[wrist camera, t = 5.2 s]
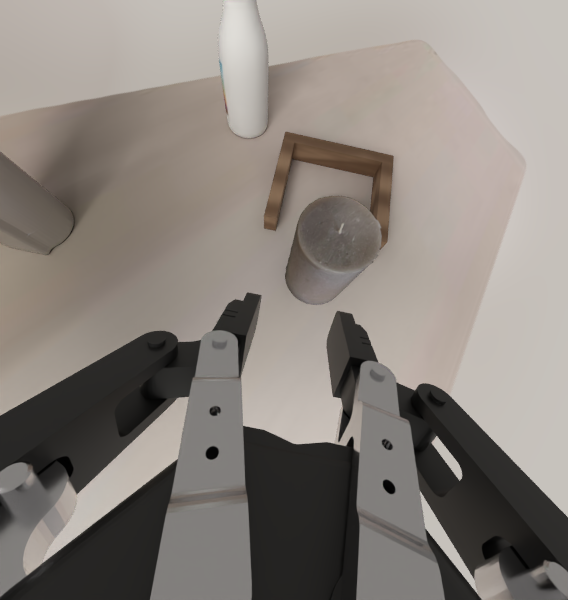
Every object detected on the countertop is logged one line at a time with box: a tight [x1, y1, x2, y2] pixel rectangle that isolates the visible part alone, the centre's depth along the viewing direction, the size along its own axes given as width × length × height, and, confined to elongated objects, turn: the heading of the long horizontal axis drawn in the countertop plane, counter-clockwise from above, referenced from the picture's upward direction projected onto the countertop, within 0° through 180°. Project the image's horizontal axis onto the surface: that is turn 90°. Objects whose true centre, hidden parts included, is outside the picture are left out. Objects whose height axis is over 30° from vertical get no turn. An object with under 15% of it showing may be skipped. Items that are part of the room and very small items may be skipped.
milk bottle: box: [218, 0, 268, 138], centre depth 38 cm, size 8×8×20 cm
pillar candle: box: [285, 196, 382, 305], centre depth 32 cm, size 10×10×15 cm
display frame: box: [264, 132, 394, 249], centre depth 42 cm, size 18×20×4 cm
